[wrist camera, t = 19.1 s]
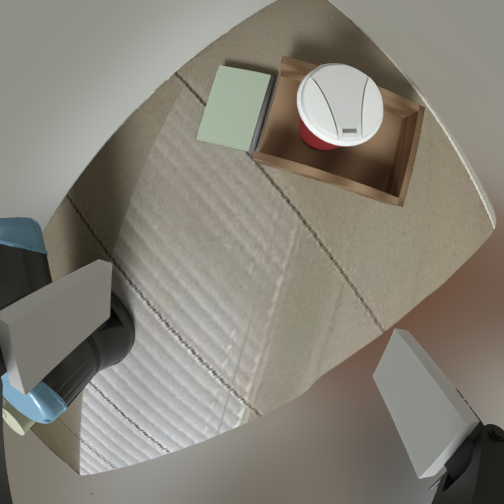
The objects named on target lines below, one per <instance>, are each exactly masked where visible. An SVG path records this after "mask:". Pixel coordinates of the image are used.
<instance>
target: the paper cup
mask: <svg viewBox="0 0 504 504" xmlns="http://www.w3.org/2000/svg"><path fill="white" fill-rule="evenodd" d="M297 107H298V111H299V133H300V136H301V138H302V140H303V141H304V143H305V144H306V145H307V146H309V147H310V148H312V149H314V150H318V151H327V150H331V149H335V148H338V147H341V146H355V145H358V144H361V143H363V142H366V141H367V140H369V139H370V138H372V137H373V136H374V135H375V134H376V132H377V131H378V129H379V128H380V125H381V123H382V119H383V111H384V110H383V100H382V97H381V94H380V91H379V89H378V87H377V86H376V84H375V83H374V82H373V80H372V79H371V78H370V77H369V76H367V75H366V74H364V73H363V72H361V71H359V70H358V69H356V68H353V67H351V66H349V65H346V64H342V63H328V64H323V65H320V66H319V67H317V68H316V69H314V70H313V71H311V72H310V73H309V74H308V75H306V76H305V78H304V79H303V80H302V82H301V84H300V86H299V89H298V92H297Z"/></svg>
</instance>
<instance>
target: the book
mask: <svg viewBox="0 0 504 504" xmlns="http://www.w3.org/2000/svg"><path fill="white" fill-rule="evenodd" d="M275 79H276V76H274V75H268V74H264V73H259V72H254V71H249V70H244V69H238V68H232V67H226V66H219V68H218V71H217V74H216V77H215V80H214V83H213V86H212V89H211V92H210V95H209V99H208V102H207V105H206V108H205V111H204V115H203V118H202V121H201V125H200V128H199V132H198V135H197V139H198V140H199V141H204V142H208V143H213V144H218V145H222V146H226V147H231V148H235V149H239V150H243V151H247V153H250V154H254V151H255V147H256V144H257V140H258V137H259V133H260V130H261V126H262V123H263V119H264V116H265V113H266V109H267V106H268V102H269V99H270V96H271V92H272V89H273V86H274V82H275Z"/></svg>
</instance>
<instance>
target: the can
mask: <svg viewBox="0 0 504 504" xmlns="http://www.w3.org/2000/svg"><path fill="white" fill-rule="evenodd" d="M2 409H3V418H4V419H5V421H6V422H7V423H8V425H9V426H10V427H11V428H12V429H13V430H14V431H16V432H17V433H18V434H20V435H24V434H25V433H26V432H27V430H28V429H29V428H30V427H31V426H32V425H33V424H34V423H35V421H34V420H32V419H30V418H28V417H27V416H25V415H24V414H22V413H21V412H19V411H18V410H17V409H16V408H15V407H14V406H13V405H11V404H10V403H9V402H7V403H6V404H5V405H4V406H3V407H2Z"/></svg>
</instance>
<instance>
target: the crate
mask: <svg viewBox="0 0 504 504" xmlns="http://www.w3.org/2000/svg"><path fill="white" fill-rule="evenodd" d="M317 67H319V65H316V64H312V63H309V62H305V61H301V60H298V59H294V58H290V57H286V56H282V60H281V77H280V80H279V84H278V87H277V90H276V94H275V97H274V100H273V104H272V107H271V111H270V114H269V118H268V121H267V125H266V128H265V132H264V135H263V139H262V142H261V146H260V149H259V152H257V151H254V155H253V159H254V160H255V161H256V162H257V163H260V164H264V165H267V166H271V167H275V168H278V169H282V170H285V171H289V172H292V173H296V174H299V175H302V176H305V177H309V178H312V179H315V180H318V181H322V182H325V183H328V184H331V185H334V186H337V187H340V188H343V189H346V190H349V191H352V192H355V193H357V194H360V195H363V196H366V197H369V198H371V199H374V200H377V201H379V202H382V203H386V204H391V205H396V206H401V207H403V204H404V201H405V197H406V193H407V190H408V186H409V182H410V178H411V174H412V170H413V166H414V161H415V157H416V152H417V148H418V143H419V138H420V133H421V127H422V122H423V116H424V110H425V107H423V106H421V105H419V104H417V103H415V102H413V101H410V100H408V99H406V98H404V97H402V96H400V95H397V94H395V93H393V92H391V91H388V90H386V89H384V88H381V87H379V86H377V87H378V89H379V91H380V94H381V97H382V100H383V110H384V111H383V119H382V123H381V125H380V128H379V129H378V131H377V132H376V134H375V135H374V136H373V137H372V138H370V139H369V140H367V141H366V142H363V143H361V144H358V145H355V146H341V147H338V148H335V149H331V150H327V151H318V150H314V149H312V148H310V147H309V146H307V145H306V144H305V143H304V141H303V140H302V138H301V136H300V133H299V111H298V107H297V92H298V89H299V86H300V84H301V82H302V80H303V79H304V78H305V76H306V75H308V74H309V73H310V72H311V71H313V70H314V69H316V68H317Z"/></svg>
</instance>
